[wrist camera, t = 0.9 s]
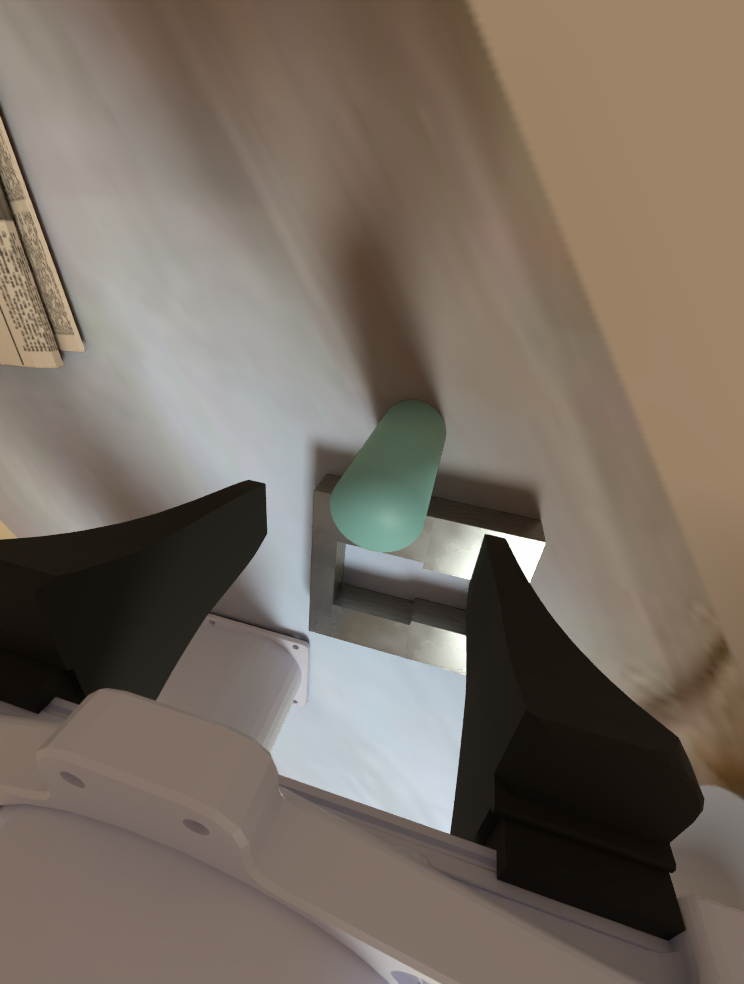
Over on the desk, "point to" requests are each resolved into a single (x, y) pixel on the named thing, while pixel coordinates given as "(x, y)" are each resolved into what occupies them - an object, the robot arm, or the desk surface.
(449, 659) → the keyhole plate
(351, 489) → the peg
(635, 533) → the desk surface
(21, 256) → the newspaper
